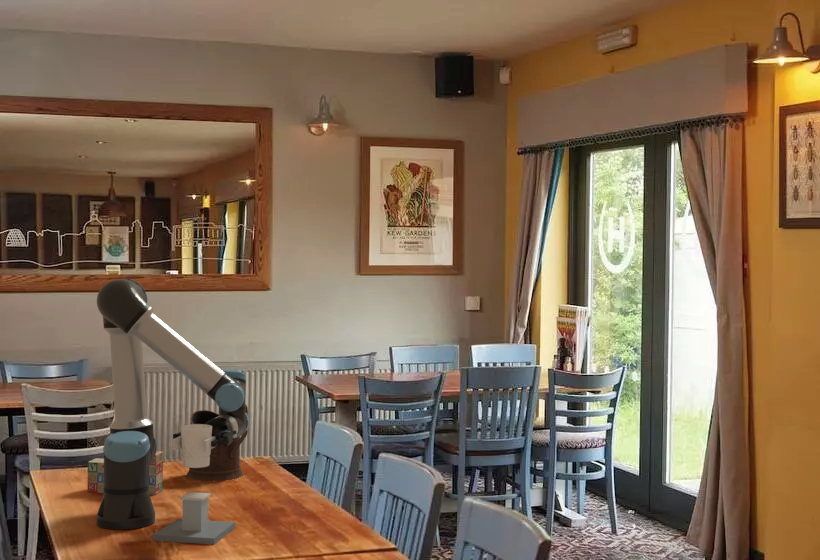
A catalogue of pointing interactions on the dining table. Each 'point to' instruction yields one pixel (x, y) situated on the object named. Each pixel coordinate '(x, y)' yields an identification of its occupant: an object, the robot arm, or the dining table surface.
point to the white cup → (195, 445)
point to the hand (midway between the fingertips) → (189, 445)
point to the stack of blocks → (98, 475)
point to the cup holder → (218, 455)
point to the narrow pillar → (194, 523)
